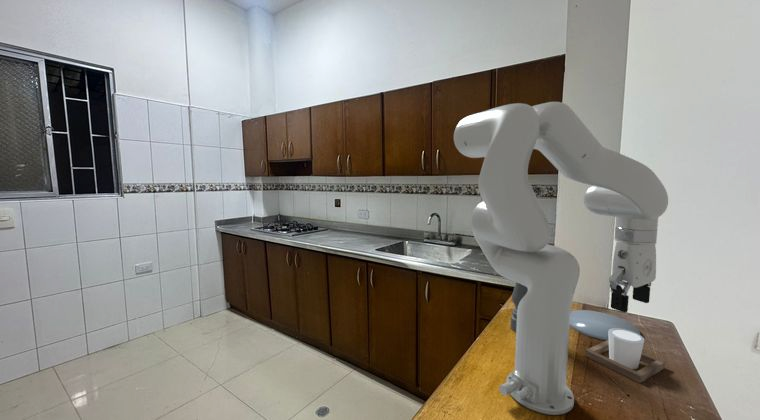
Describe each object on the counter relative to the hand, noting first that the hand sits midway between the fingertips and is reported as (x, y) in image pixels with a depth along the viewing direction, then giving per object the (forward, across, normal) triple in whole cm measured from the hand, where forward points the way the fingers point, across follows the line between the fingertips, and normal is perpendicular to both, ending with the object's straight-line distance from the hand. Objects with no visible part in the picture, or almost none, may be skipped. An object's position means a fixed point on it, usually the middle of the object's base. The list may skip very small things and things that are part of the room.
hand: (630, 305), depth 74 cm
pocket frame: (+14, -1, 0) cm, 14 cm away
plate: (+14, +13, +13) cm, 23 cm away
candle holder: (+14, -9, +23) cm, 28 cm away
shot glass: (+14, -1, 0) cm, 14 cm away
